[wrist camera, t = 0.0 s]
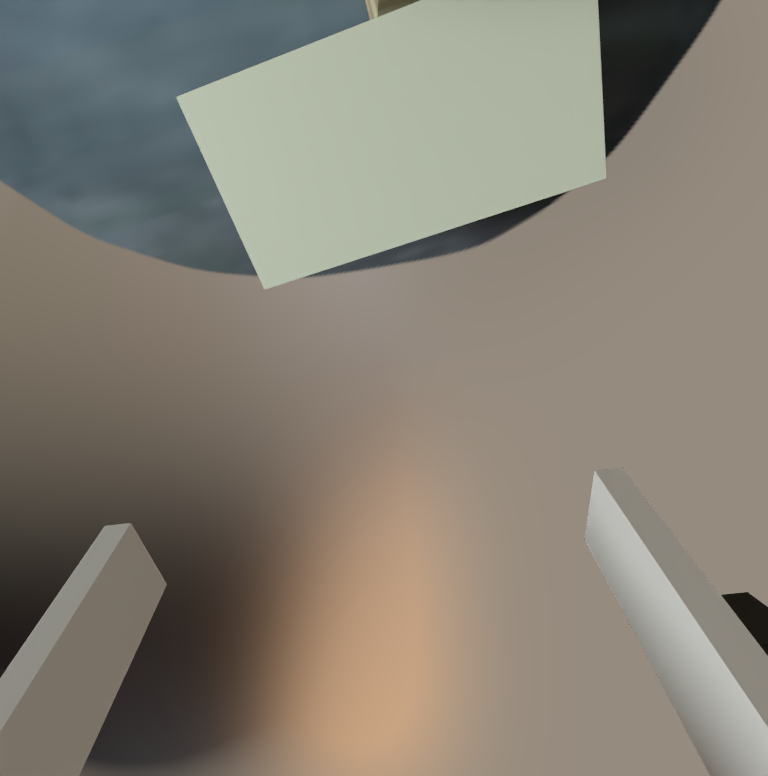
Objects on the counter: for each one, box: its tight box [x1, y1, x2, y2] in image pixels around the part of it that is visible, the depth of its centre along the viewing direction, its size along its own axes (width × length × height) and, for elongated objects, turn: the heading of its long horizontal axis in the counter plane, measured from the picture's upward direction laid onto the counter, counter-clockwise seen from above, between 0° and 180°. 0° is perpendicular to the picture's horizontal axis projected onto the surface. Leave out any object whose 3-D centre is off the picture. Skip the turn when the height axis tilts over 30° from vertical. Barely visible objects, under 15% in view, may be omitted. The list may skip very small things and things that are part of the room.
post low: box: [176, 0, 607, 289], centre depth 24 cm, size 14×7×19 cm, turn 107°
